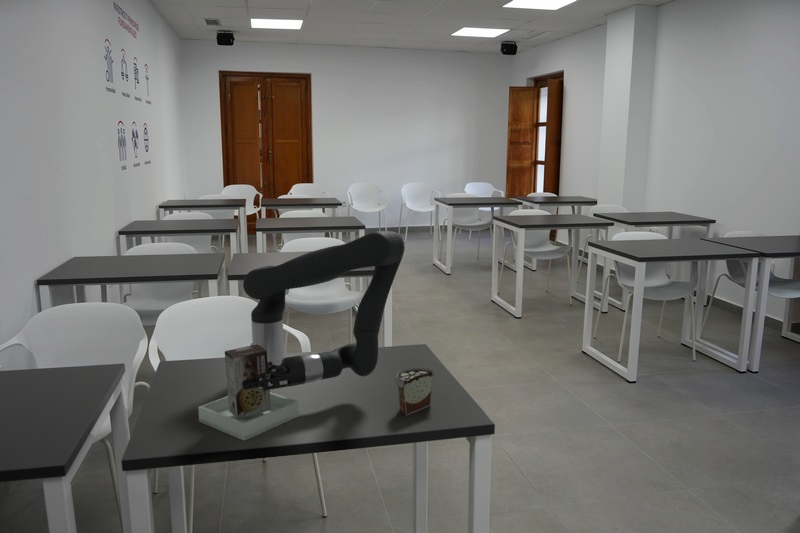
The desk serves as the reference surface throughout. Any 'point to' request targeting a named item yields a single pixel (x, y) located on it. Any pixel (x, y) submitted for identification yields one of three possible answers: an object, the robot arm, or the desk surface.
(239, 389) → the brown cardboard box
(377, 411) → the desk surface
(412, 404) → the food container
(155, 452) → the desk surface
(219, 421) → the tray
